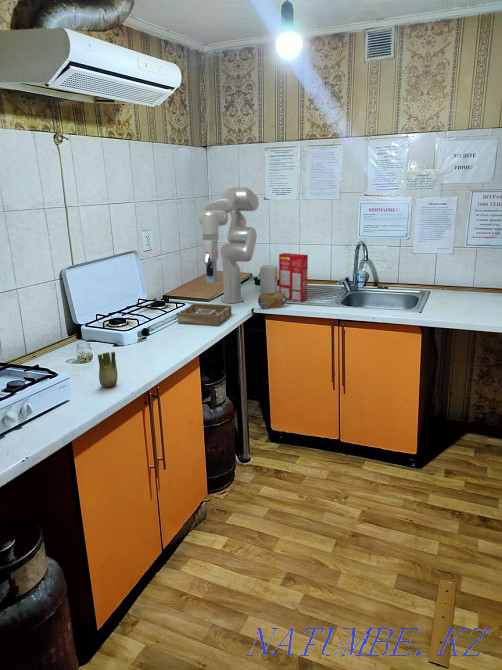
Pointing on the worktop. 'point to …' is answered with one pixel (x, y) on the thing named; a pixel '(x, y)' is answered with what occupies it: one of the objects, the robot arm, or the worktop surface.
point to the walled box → (204, 314)
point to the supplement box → (268, 279)
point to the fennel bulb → (107, 369)
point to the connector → (213, 278)
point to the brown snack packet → (272, 300)
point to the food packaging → (293, 276)
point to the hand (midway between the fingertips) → (211, 274)
